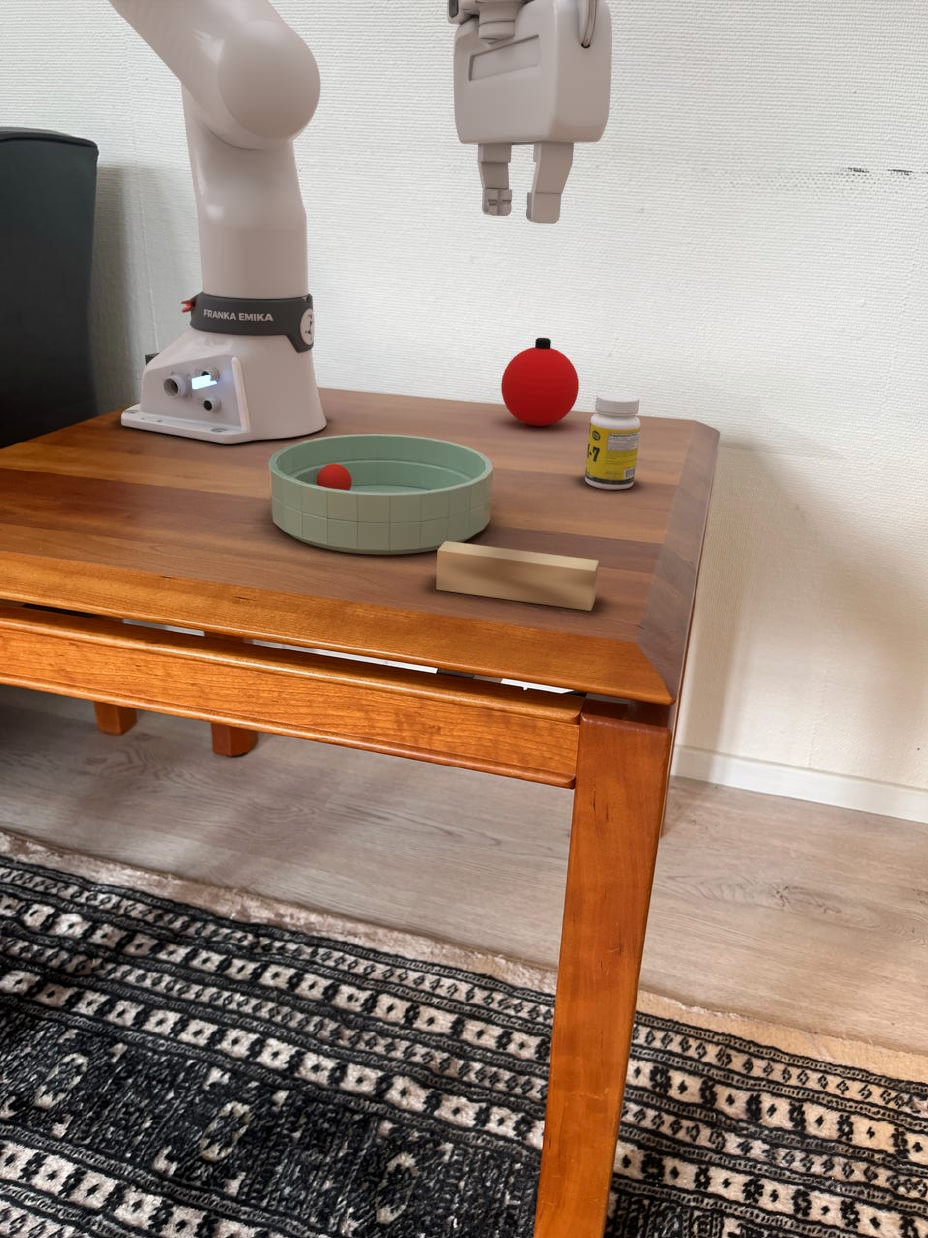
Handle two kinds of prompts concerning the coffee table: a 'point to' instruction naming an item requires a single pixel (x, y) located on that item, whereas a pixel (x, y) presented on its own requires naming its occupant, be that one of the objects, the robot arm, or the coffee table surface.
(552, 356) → the ornament
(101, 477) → the coffee table surface
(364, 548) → the bowl
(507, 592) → the block
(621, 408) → the supplement bottle
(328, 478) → the ball
